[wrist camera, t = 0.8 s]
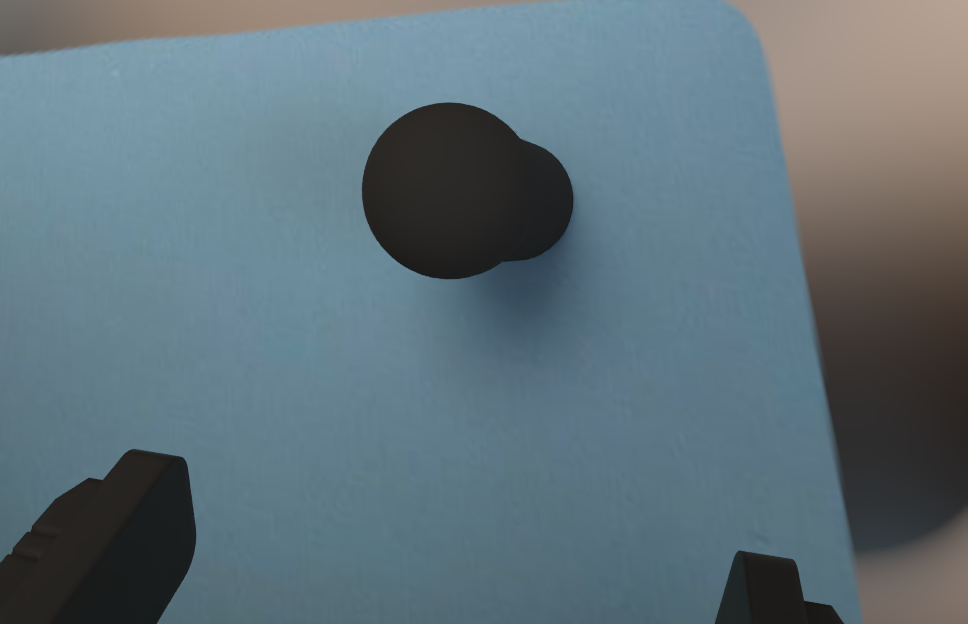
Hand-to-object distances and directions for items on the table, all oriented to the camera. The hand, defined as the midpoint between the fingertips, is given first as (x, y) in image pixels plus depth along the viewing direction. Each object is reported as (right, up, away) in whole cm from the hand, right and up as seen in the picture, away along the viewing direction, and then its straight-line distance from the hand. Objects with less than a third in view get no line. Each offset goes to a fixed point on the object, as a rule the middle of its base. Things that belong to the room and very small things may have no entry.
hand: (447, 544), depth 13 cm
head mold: (+2, +7, +20) cm, 22 cm away
